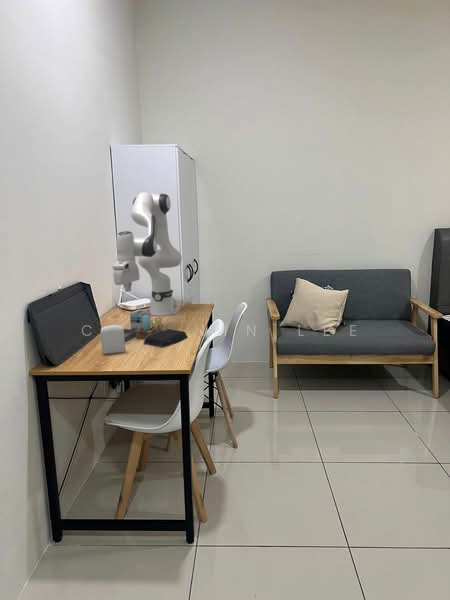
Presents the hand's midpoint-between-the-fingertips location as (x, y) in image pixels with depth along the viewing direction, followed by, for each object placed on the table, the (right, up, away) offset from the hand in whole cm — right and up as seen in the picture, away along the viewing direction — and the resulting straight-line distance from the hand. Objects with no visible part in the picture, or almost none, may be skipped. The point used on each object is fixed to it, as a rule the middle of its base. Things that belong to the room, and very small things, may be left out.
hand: (128, 291), depth 231 cm
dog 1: (+13, -22, +2) cm, 26 cm away
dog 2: (+15, -21, +7) cm, 26 cm away
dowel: (+10, -23, -4) cm, 25 cm away
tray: (-1, -23, -4) cm, 23 cm away
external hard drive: (+21, -25, -11) cm, 34 cm away
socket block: (+10, -23, -4) cm, 25 cm away
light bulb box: (+5, -21, +8) cm, 23 cm away
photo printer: (-1, -28, -27) cm, 39 cm away
